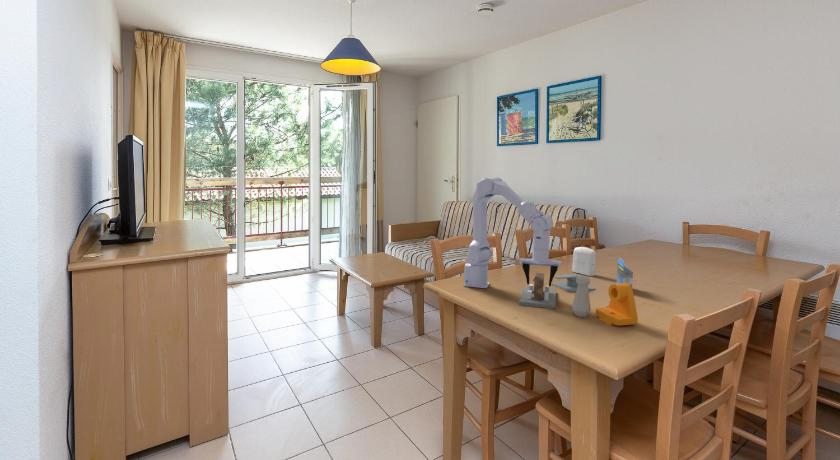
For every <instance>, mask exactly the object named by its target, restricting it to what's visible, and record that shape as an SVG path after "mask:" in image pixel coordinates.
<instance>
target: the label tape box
mask: <svg viewBox="0 0 840 460" xmlns="http://www.w3.org/2000/svg"><path fill="white" fill-rule="evenodd" d="M616 273H617V274H616V275H617V276H616V284H624V283H627V284H629V285H630V286H631V287H632V288H633V281H634V280H633V278H634V277H633V276H634V272H633V271H632V270H631V269H630V268H628V267H627V266H625V261H624V260H623V259H622V258H621V257H618V260H617V271H616Z"/></svg>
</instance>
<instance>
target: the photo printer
mask: <svg viewBox="0 0 840 460" xmlns="http://www.w3.org/2000/svg"><path fill="white" fill-rule="evenodd" d="M572 253H573V254H572V255H573V256H572V268H571V271H572V273H575V274H576V273H577V274H581V275H583V276H587V277H593V276H594V275H595V270H596V257H597V253H596V250H594V249H592V248H589V247H587V246H578V247H574V249H573V252H572Z"/></svg>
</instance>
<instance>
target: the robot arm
mask: <svg viewBox="0 0 840 460" xmlns="http://www.w3.org/2000/svg"><path fill="white" fill-rule="evenodd" d="M494 196H502V197H503V198H504V199H506V200H507V201H508V202H509V203H511V205H513V206H514V207H516V208H517V213H518V214H519V215H520V216H521V217H522V218H523V219H525V221H527V222H528V223H529V224H530V227H531V229H532V231H533V235H532V236H533V237H532V240H533V241H532V258H521V257H520V258H519V265H522V266H521V267H522V269H523V272H524V276H525V278H526V285H530V269H531V267H530V266H541V267H549V268H550V269H549V270H550V271H549V281H548V286H549V288H550V287H551V286H552V283H553V282H552V281H553V279H554V278H555V277H554V276H556V275H555V274H556V273H557V272H558V269H559V268H562V261H561V260H560V261H559V260H552V259H550V258H549V256H550V238H551V229H552V228H553V226H554V220H553V218H552V217H551V216H550V215H549V214H544V211H542V210H540V209H539V208H537V207H536V206H535V203H534V202H532V201H531V202H530V201H529V200H528V201H525V200H523V199H522V197H520V196H519V195H518V194H517V192H515V191H514V190H513V189H512V188H511V187H510V186H509V185H508V184H507V182H506V181H503V179H502V178H500V177H483V178H481V179H480V180H479V181H477V183H476V187H475V190H474V193H473V195H472V241H471V242H470V244H469V245H468V252H467V253H466V258H467V261H468V262H466V263H465V265H464V270H463V287H467V288H468V287H469V288H470V287H471V288H482V289H487V288H488V287H489V286H490V283H491V282H489V281H488V277H489V262H490V260H491V259H492V254H493V253H492V250H491V246H490V245H491V244H490V243H489V241H488V240H487V239H488V238H487V235H488V234H487V233H488V231H487V229H488V224H487V223H488V221H487V219H488V214H487V213H488V201H489V200H490V199H492V197H494Z"/></svg>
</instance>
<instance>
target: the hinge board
mask: <svg viewBox="0 0 840 460" xmlns="http://www.w3.org/2000/svg"><path fill="white" fill-rule="evenodd" d="M544 286H545V287H543V297H542V301H541V300H533V298H534V284H533V283H529V286H523V288H522V291H521V295H520V299H519V306H525V307H526V306H527V307H534V308H536V307H537V308H546V309H556V297H557V296H556V294H557V293H556V289H555V288H554V289H552V288H550V286H549V285H544Z"/></svg>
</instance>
